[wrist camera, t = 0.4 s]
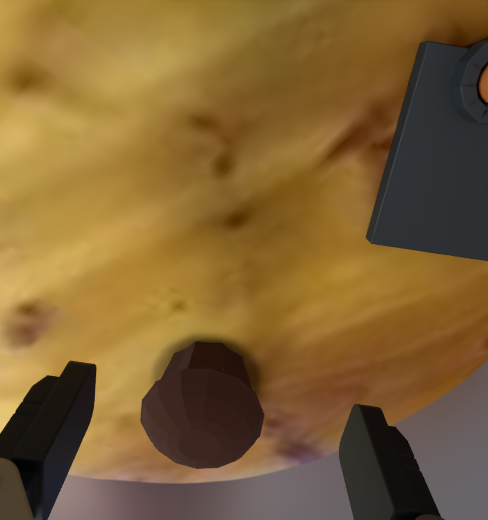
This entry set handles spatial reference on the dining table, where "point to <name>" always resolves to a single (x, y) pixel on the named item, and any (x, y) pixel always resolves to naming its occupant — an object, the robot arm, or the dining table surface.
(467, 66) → the scale
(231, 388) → the muffin
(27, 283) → the dining table surface
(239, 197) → the dining table surface
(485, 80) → the button
